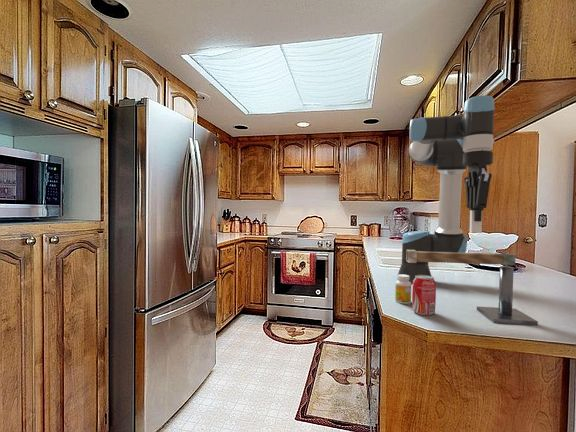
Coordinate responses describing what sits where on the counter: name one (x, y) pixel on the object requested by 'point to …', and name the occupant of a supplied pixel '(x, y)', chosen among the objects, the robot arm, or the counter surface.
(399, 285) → the supplement bottle
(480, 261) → the swing arm
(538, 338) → the counter surface
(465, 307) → the counter surface
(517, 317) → the post
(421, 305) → the soda can
